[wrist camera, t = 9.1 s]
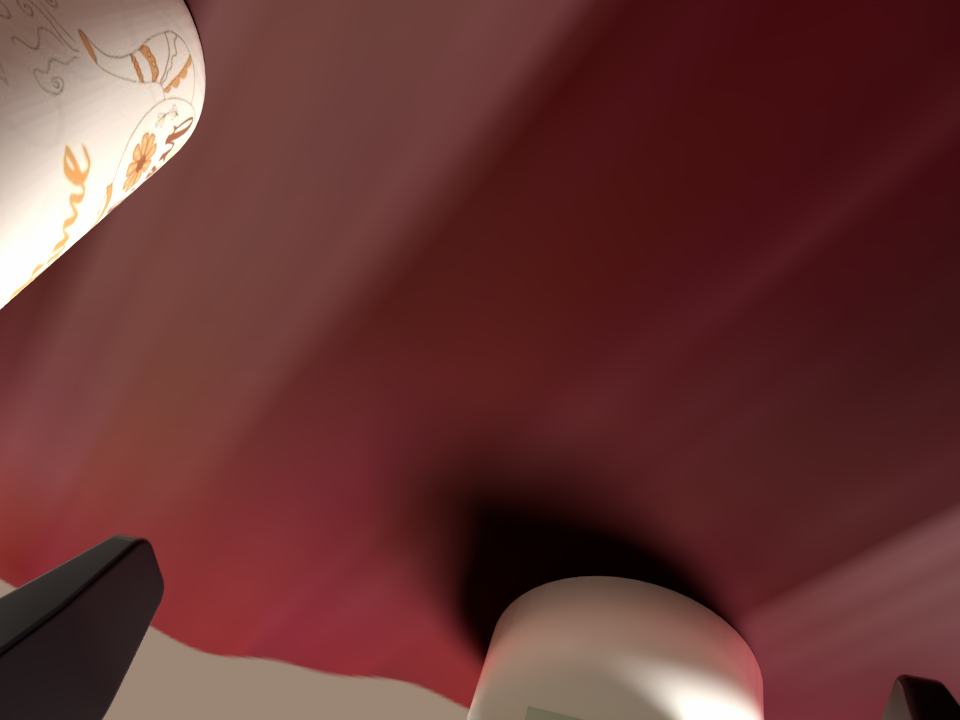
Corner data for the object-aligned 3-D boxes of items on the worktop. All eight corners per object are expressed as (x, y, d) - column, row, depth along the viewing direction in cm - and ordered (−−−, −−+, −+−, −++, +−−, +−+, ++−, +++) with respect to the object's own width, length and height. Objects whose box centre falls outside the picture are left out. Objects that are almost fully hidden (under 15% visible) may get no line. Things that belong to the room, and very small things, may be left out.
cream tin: (789, 603, 25) (797, 721, 21) (736, 776, 29) (736, 893, 26) (495, 546, 26) (461, 645, 23) (491, 717, 31) (462, 820, 28)
